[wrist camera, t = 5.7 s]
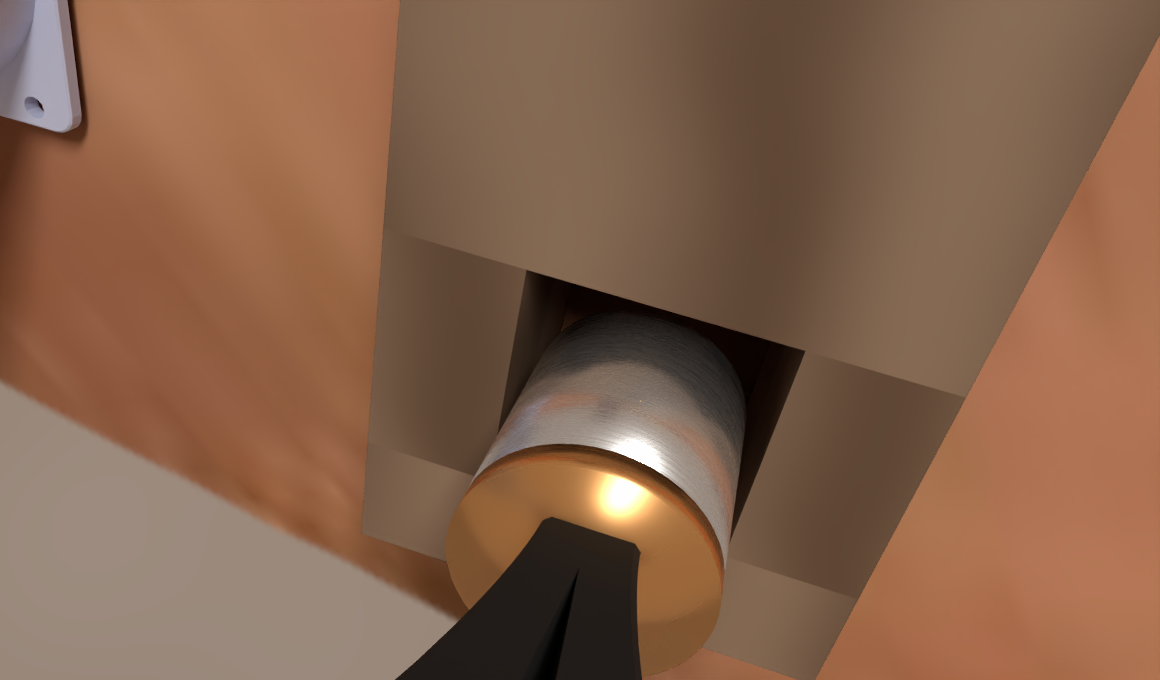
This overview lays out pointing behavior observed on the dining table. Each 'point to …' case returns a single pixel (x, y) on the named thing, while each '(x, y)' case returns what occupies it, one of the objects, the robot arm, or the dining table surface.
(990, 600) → the dining table surface
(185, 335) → the dining table surface
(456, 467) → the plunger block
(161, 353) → the dining table surface
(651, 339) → the peg
